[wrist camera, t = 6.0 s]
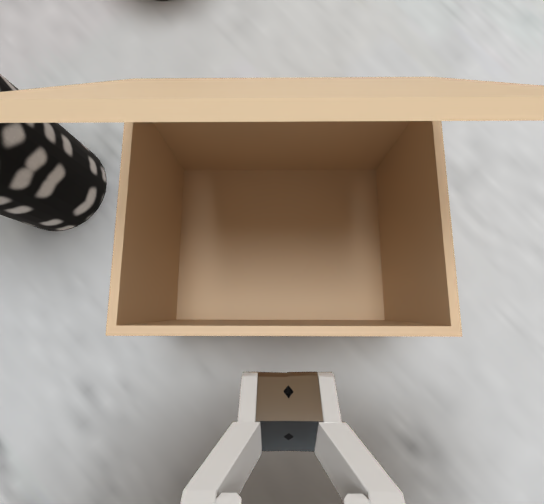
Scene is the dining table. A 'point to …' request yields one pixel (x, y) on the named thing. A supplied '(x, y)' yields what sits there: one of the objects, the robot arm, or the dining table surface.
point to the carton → (283, 230)
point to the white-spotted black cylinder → (47, 175)
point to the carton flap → (275, 100)
